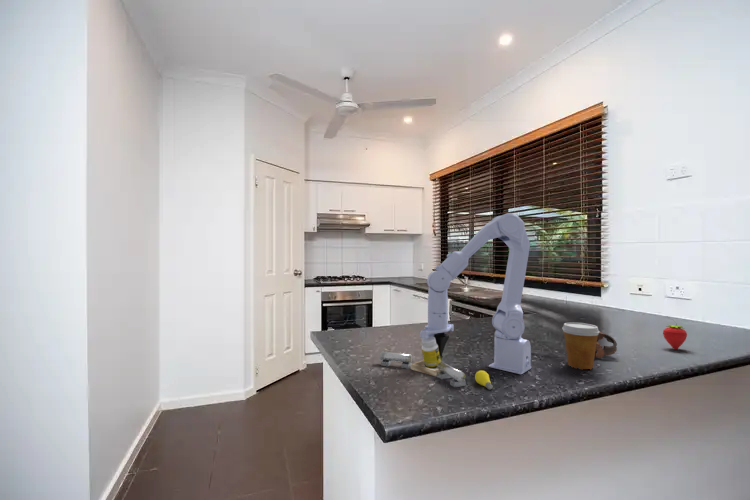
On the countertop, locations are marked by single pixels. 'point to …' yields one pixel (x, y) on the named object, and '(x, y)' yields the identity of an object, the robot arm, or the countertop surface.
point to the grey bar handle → (396, 359)
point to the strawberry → (675, 335)
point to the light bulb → (483, 379)
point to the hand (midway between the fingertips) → (437, 359)
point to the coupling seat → (423, 368)
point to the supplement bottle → (430, 352)
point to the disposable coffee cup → (580, 344)
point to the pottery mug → (606, 349)
